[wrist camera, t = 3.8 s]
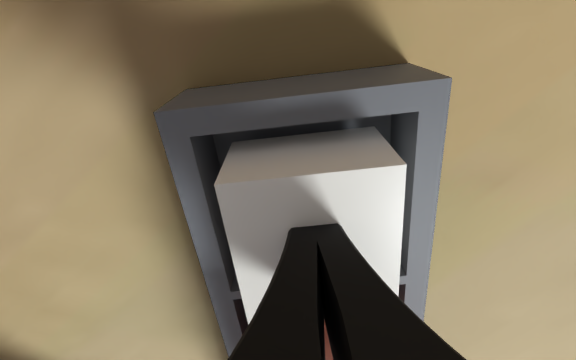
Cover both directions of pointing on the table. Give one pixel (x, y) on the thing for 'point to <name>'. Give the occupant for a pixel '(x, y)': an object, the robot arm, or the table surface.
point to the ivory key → (311, 200)
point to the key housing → (303, 120)
